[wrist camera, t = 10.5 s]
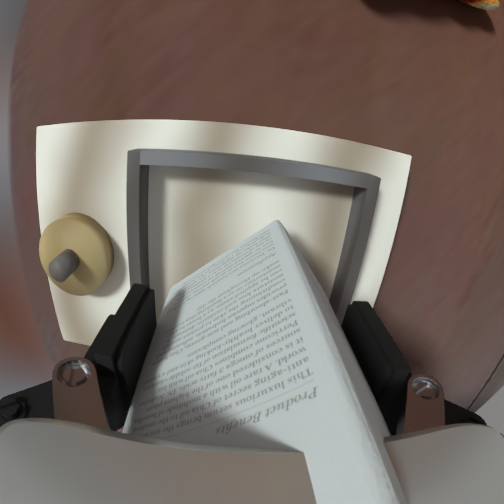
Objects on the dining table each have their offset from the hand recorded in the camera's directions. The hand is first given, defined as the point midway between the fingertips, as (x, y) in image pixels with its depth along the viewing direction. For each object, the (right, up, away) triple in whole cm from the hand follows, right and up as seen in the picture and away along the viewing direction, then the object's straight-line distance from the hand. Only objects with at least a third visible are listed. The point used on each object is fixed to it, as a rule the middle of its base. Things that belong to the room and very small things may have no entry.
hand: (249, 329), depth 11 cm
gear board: (-2, +3, +6) cm, 7 cm away
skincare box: (0, +1, +3) cm, 4 cm away
